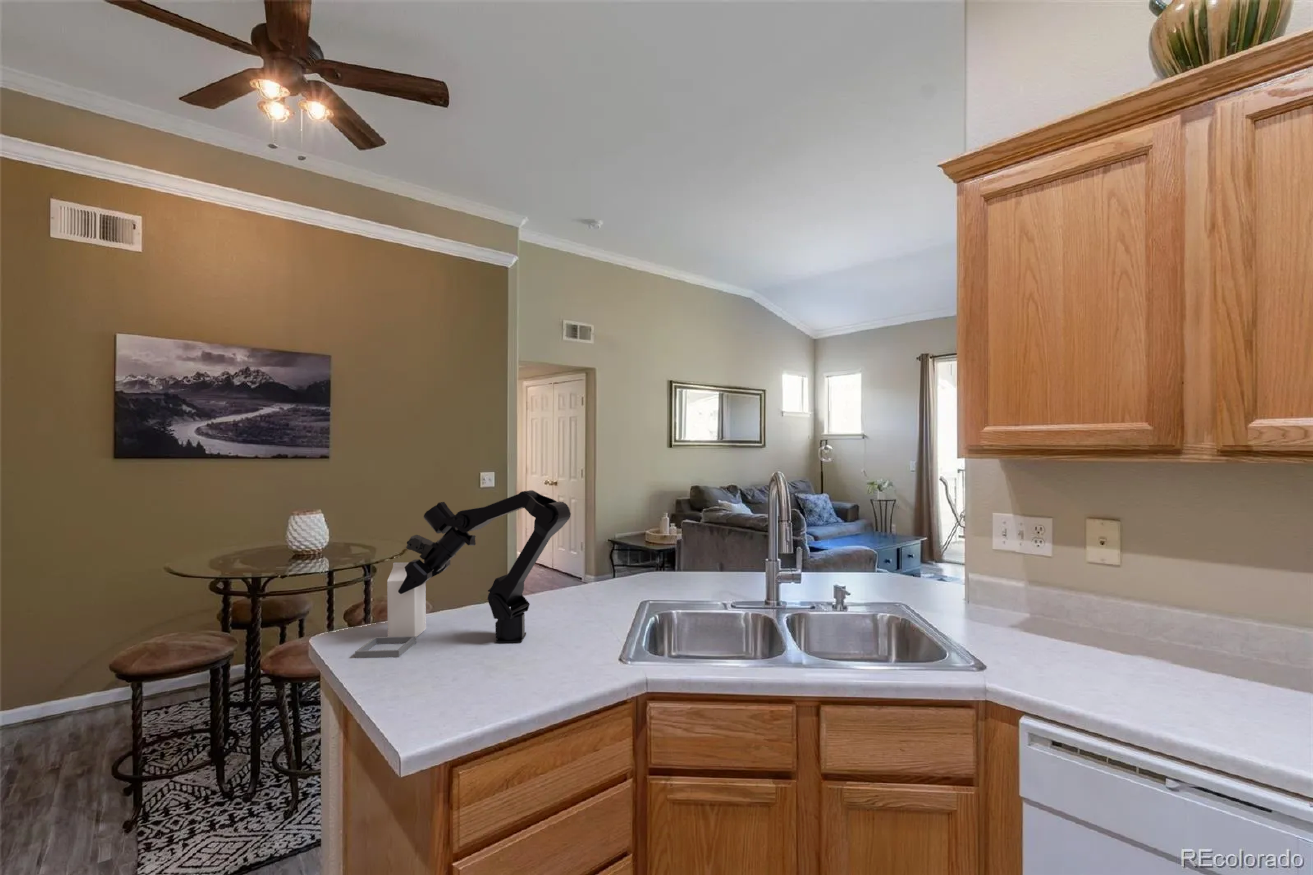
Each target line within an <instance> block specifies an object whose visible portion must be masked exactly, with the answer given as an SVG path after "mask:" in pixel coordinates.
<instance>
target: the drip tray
mask: <svg viewBox="0 0 1313 875" xmlns="http://www.w3.org/2000/svg"><path fill="white" fill-rule="evenodd" d="M415 642H416V643H417V637H416V636H406V637H388V636H374V637H373V638H372V639H371V640H369V641H368V642H366V643H365V644H364V645H362V646H361V647H359V648H358V649H356V650H355V651H354V655H355V656H354V658H355V659H362V658H363V659H367V658H368V659H369V658H400V657H401V656H402V655H403V654H404V653H405V652H406V651H408V649H410V648H411V647H412V646H413V645H414V644H416V643H415ZM381 644H382V645H383V644H384V645H385V644H387V645H388V644H389V645H390V644H402V645H401V646H400V647H399V648H397V649H377V650H376V649H373V650H372V649H371V648H374V646H375V645H381ZM400 655H401V656H400Z"/></svg>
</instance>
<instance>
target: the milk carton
mask: <svg viewBox="0 0 1313 875" xmlns="http://www.w3.org/2000/svg"><path fill="white" fill-rule="evenodd" d="M409 562H410V561H409ZM409 562H393V564H392V569H391V571H390V573H389V576H388V578H387V580H386V581H387V583H386V584H387V585H386V588H387V592H386V593H387V594H386V595H387V597H386V598H387V637H406V636H416V638H417V637H419V635H421V634H422V633H423V632H425V630H426V629H427V623H426V622H427V620H426V619H427V618H426V617H427V611H426V610H427V608H426V607H427V603H426V598H427V597H426V596H427V595H426V593H427V591H426V586H427V585H426V584H427V581H426V582H425V583H424V584H422V585H420V586H418V587H416V588H413V589H411V590H409V591H407V592H405V593H403V594H400V593H399V592H398V590H399V589H400V587H401V585H402V583H403V582H404V580H405V578H406V576H407V573H406V571H405V568H404V567H405V566H406V565H407V564H408V563H409Z"/></svg>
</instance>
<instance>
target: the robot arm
mask: <svg viewBox="0 0 1313 875" xmlns="http://www.w3.org/2000/svg"><path fill="white" fill-rule="evenodd" d="M521 509H524V510H526V511H527V512H528V514H529V515H530V516H531V517H533V518H535V519H534V522H533V523H534V525H533V531H532V533H531V535H530V536H529V538H528V540H527V541H526V543H525V545H524V547H523V548H522V550H521V551H520V553H519V555H518V556H517V558H516V560H515V561H514V563H513V565H512V567H511V568H510V570H509V571H508V573H507V574H504V575H501V576H499V577H497V578H495V579H494V581H493V582H492V583H493V584H492V585H491V587H490V588H489V589H488V590H487V592H489V593H488V595H487V601H488V604H489V606H490V607H489V608H490V610H491V614H492V616H493V619H495V620H496V622H495V624H494V625H495V627H494V628H495V639H496V640H495V643H496V644H506V643H507V644H509V643H512V644H513V643H517V644H518V643H522V642H523V641H524V640H525V637H526V636H527V632H525V627H526V626H525V625H526V624H525V620H526V619H525V612H528V611H529V608H530V602H529V601H528V600H527V599H526V597H525V596H524V595H523V594H524V591H525V581H526V579H527V578H528V576H529V574H530V573H531V571H532V570H533V568H534V566H535V564H536V563H537V561H538V559H539V558H540V557H541V555H542V552H543V551H544V550H545V548H546V546H547V545H548V543H549V541H550V539H551V538H552V537H553V536H554V535H555V534H556V533H557V532H558V531H560V530H561V529H562V528H563V527H564V526H565V524H567V522H568V521H569V520H570V518H571V514H572V513H571V509H570V507H569V505H568V504H567V503H566V502H564V501H557V500H555V499H553V498H552V497H551V498H550V497H548V496H545V495H542V494H540V493H538V492H537V491H535V490H533V489H530V490H523V491H520V492H519V493H518V494H514V495H512V496H509V497H507V498H504V499H502V500H499V501H496V502H493V503H491V504H487V505H486V506H481V507H474V508H469V509H462V510H459V511H458V512H456V514H455V513H454V512H453V511H452V510H451V509H450V508H449V507H448V505H447V503H446V502H445V501H440V502H438V503H437V504H435V505H434V506H432V507H431V508H429V509H428V510H426V511H425V513H424V514H423V519H424V520H425V522H427V524H428V525H429V526H430V528H431V529H432V530H433V532H435V533H436V534H443V535H442V536H441V537H440V538H439V539H438V540H437V541H432V540H431V539H428V538H426V537H423V536H421V535H418V534H414V535H412V536H410V538H409V539H408V540H407V541H406V547H405V548H406V550H408V551H413V552H415V553H417V554H420V555H419V558H420V559H417V558H416V559H413V560H411V561H409V563H408V564H407V565H406V566H405V567H404V568H405V571H406V573H407V576H406V578H405V580H404V582H403V583H402V585H401V587H400V589H399V590H398V592H399V593H400V594H403V593H405V592H407V591H409V590H411V589H413V588H416V587H418V586H420V585H422V584H424V583H425V582H426V583H427V582H428V581H429V580H430V579H431V578H434V577H435V576H437V575H440V574H441V573H442V572H444V571H445V570H447V569H448V568H449V567H450V566H451V559H452V558H455V556H457V553H458V552H459V551H460V550H461V549H462V548H463V547H464V546H465V545H467V546H473V547H474V546H476V544H477V543H476V535H474V534H471V533H470V532H473V531H476V530H477V531H478V530H481V529H482V528H484V527H486V526H487V525H489V524H490V523H492V521H494V520H496V519H498V518H500V517H503V516H506V515H508V514H511V513H514V512H516V511H519V510H520V511H521ZM422 560H423V561H422Z"/></svg>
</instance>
